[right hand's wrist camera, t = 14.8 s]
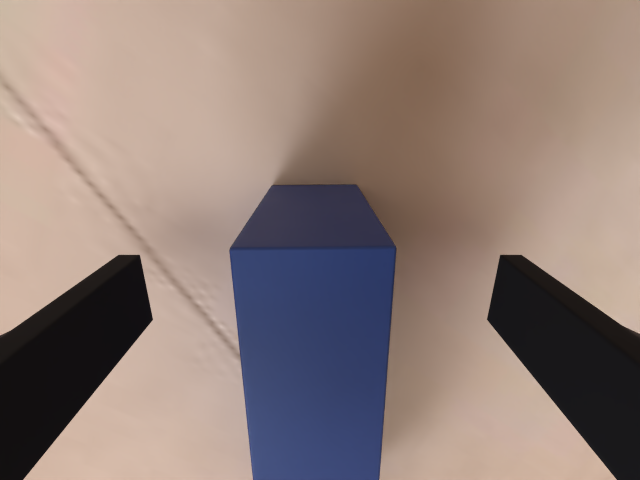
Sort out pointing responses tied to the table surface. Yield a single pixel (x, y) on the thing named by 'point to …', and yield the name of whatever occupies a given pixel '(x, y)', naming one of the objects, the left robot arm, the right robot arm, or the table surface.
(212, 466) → the table surface
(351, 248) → the bar
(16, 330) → the right robot arm
